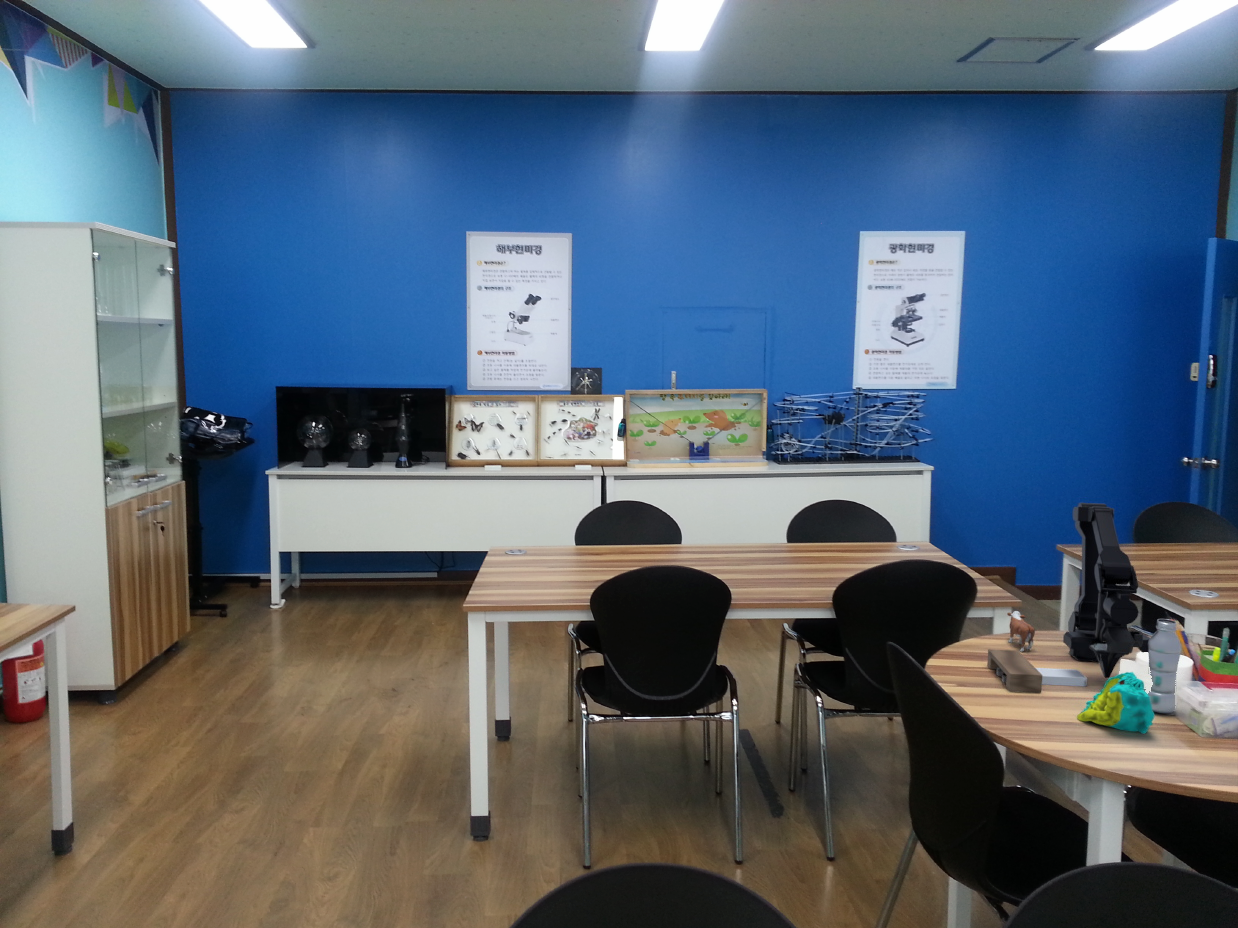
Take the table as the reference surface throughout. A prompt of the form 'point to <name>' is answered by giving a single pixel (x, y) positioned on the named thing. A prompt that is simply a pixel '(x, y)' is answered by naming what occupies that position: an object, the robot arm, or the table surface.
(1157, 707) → the plastic bottle
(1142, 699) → the turquoise and yellow lump
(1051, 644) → the table surface
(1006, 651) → the low shelf
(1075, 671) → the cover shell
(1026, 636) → the bull figurine
